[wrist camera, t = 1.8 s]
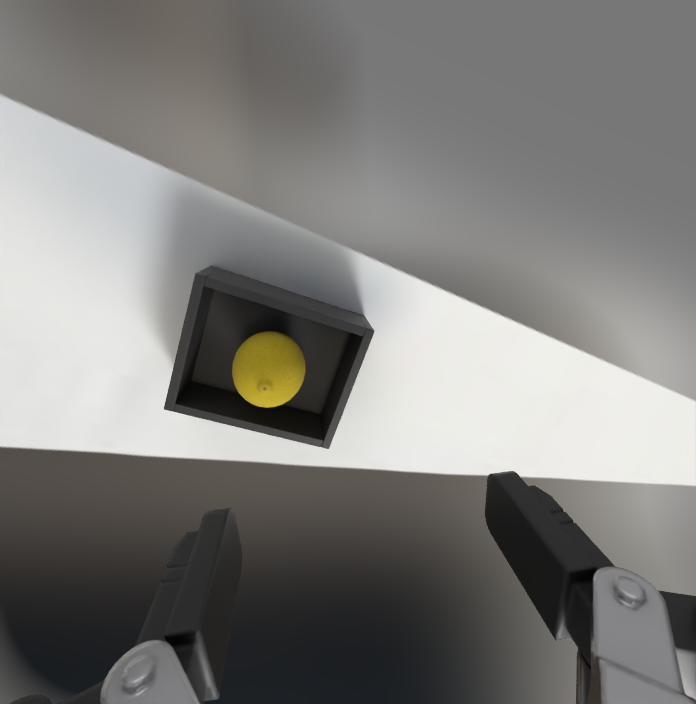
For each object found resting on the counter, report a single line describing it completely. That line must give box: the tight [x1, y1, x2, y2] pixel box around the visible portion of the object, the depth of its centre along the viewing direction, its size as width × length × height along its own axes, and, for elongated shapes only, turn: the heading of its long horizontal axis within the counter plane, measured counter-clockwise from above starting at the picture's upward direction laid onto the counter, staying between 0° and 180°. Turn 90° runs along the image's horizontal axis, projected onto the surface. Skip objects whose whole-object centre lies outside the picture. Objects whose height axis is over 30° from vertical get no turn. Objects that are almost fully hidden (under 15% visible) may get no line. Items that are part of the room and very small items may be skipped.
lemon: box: [232, 331, 305, 408], centre depth 29 cm, size 6×6×8 cm
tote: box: [164, 266, 374, 449], centre depth 31 cm, size 13×11×5 cm
